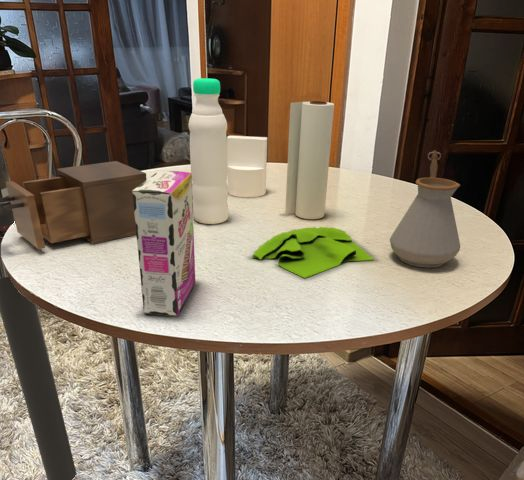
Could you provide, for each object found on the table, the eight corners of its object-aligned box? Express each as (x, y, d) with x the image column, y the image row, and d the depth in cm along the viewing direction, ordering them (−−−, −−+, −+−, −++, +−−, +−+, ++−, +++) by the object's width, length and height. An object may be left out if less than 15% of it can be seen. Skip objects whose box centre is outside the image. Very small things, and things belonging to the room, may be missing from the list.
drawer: (9, 255, 82) (-5, 200, 77) (-10, 237, 88) (-24, 185, 84) (98, 236, 90) (90, 186, 85) (74, 221, 97) (66, 173, 92)
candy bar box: (179, 317, 68) (171, 192, 59) (143, 315, 68) (129, 190, 59) (198, 282, 77) (193, 170, 68) (165, 280, 77) (156, 168, 69)
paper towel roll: (329, 215, 107) (340, 102, 95) (314, 222, 103) (323, 105, 91) (300, 208, 110) (308, 98, 99) (284, 214, 106) (290, 101, 95)
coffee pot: (459, 276, 81) (483, 180, 73) (385, 267, 84) (401, 173, 76) (450, 233, 99) (468, 151, 91) (390, 227, 101) (402, 147, 93)
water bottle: (235, 220, 102) (235, 79, 89) (207, 227, 98) (202, 81, 85) (213, 211, 107) (209, 76, 93) (186, 218, 102) (178, 78, 89)
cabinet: (92, 244, 89) (82, 182, 84) (66, 226, 97) (56, 168, 91) (151, 231, 96) (146, 173, 90) (123, 215, 103) (116, 160, 98)
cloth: (347, 229, 99) (349, 217, 98) (386, 275, 81) (389, 261, 80) (243, 232, 97) (243, 219, 95) (259, 280, 78) (259, 265, 77)
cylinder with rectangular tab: (268, 188, 124) (269, 135, 117) (263, 198, 116) (264, 142, 110) (231, 185, 124) (231, 133, 118) (224, 195, 117) (223, 140, 110)
